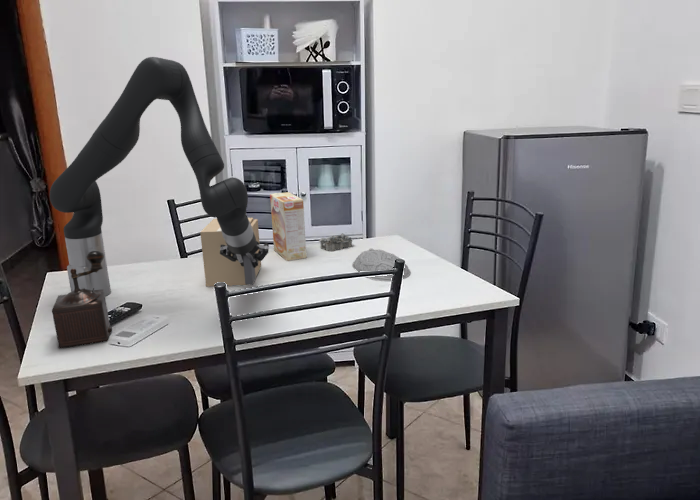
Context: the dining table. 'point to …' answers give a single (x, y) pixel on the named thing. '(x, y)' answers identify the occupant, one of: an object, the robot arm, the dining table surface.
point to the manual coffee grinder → (82, 311)
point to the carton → (219, 258)
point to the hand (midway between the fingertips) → (250, 264)
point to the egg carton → (335, 242)
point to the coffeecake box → (288, 226)
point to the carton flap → (248, 267)
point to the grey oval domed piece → (377, 263)
